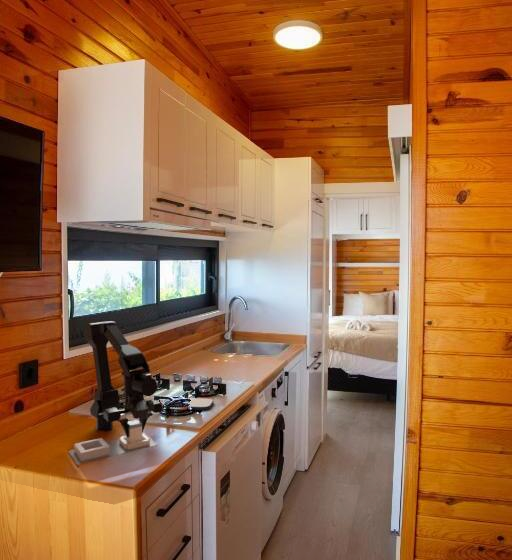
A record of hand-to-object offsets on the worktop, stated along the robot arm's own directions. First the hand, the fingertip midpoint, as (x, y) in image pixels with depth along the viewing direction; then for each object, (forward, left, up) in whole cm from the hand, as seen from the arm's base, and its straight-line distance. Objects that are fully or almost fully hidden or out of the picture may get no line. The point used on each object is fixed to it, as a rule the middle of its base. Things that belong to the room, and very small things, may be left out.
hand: (134, 435), depth 165 cm
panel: (0, -7, -4) cm, 8 cm away
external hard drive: (-29, +32, -4) cm, 43 cm away
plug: (0, 0, -2) cm, 2 cm away
